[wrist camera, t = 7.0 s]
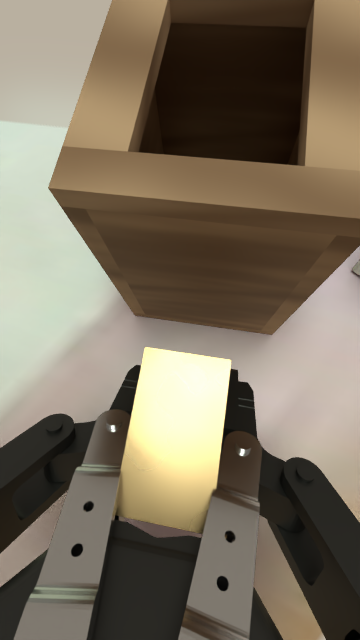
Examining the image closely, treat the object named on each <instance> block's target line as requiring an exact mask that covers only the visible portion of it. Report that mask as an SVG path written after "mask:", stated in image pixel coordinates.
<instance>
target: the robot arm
mask: <svg viewBox="0 0 360 640" xmlns="http://www.w3.org/2000/svg"><path fill="white" fill-rule="evenodd" d="M140 370H141V366H140V365H136V366H134V367H133V368H132V369H131V370H129V371H128V373H127V375H126V377H125V380H124V381H123V383H122V386H121V387H120V389H119V392H118V394H117V396H116V398H115V400H114V402H113V404H112V406H111V408H110V410H109V411H106V412H104V413H102V414H101V415H100V416H99V417H98V419H97V420H96V421H92V422H86V423H75V424H74V422H73V419H72V418H71V417H70V416H68V415H65V414H54V415H50V416H48V417H46V418H44V419H42V420H41V421H39V422H38V423H37V424H35V425H34V426H32V427H31V428H29V429H28V430H26V431H25V432H23V433H22V434H20V435H19V436H18V437H16V438H15V439H13V440H12V441H10V442H9V443H7V444H6V445H4V446H3V447H1V448H0V553H1V552H2V551H3V550H4V549H6V548H7V547H8V546H9V545H10V544H11V543H12V542H13V541H14V540H15V539H16V538H17V537H18V536H19V535H20V534H21V533H22V532H24V531H25V530H26V529H27V528H28V527H29V526H30V525H31V524H32V523H33V522H34V521H35V520H36V519H37V518H38V517H39V516H40V515H41V514H43V513H44V512H45V511H46V510H47V509H48V508H49V507H50V506H51V505H52V504H53V503H54V502H55V501H56V500H57V499H58V498H59V497H61V496H62V495H63V494H64V493H65V492H66V491H67V490H68V489H69V490H68V493H67V496H66V499H65V502H64V505H63V508H62V511H61V514H60V516H59V519H58V522H57V525H56V528H55V531H54V534H53V537H52V540H51V543H50V546H49V549H47V550H46V551H45V552H44V553H42V554H41V555H40V556H39V557H37V558H36V559H35V560H34V561H32V562H31V563H30V564H29V565H27V566H26V567H25V568H24V569H22V570H21V571H20V572H19V573H18V574H16V575H15V576H14V577H13V578H11V579H10V580H9V581H8V582H6V583H5V584H4V585H3V586H1V587H0V640H283V638H282V637H281V635H280V633H279V631H278V629H277V628H276V626H275V624H274V622H273V620H272V619H271V617H270V615H269V613H268V611H267V610H266V608H265V606H264V604H263V603H262V601H261V599H260V597H259V595H258V594H257V592H256V590H255V588H254V587H253V585H254V573H255V560H256V548H257V536H258V524H259V515H261V516H263V517H264V518H266V519H267V520H268V523H269V525H270V527H271V529H272V531H273V533H274V535H275V537H276V539H277V542H278V544H279V546H280V548H281V550H282V552H283V554H284V556H285V558H286V560H287V562H288V564H289V566H290V568H291V570H292V572H293V574H294V576H295V578H296V580H297V582H298V584H299V586H300V588H301V590H302V592H303V594H304V596H305V598H306V600H307V602H308V604H309V606H310V608H311V610H312V612H313V614H314V616H315V618H316V620H317V622H318V624H319V626H320V628H321V630H322V632H323V634H324V636H325V638H326V640H360V523H359V521H358V520H357V519H356V517H355V516H354V515H353V513H352V512H351V511H350V509H349V508H348V507H347V505H346V504H345V502H344V501H343V500H342V498H341V497H340V496H339V494H338V493H337V492H336V490H335V489H334V488H333V486H332V485H331V483H330V482H329V481H328V479H327V478H326V477H325V475H324V474H323V473H322V471H321V470H320V469H319V468H318V467H317V466H316V465H315V464H314V463H312V462H310V461H309V460H306V459H304V458H299V457H295V458H291V459H289V460H287V461H286V462H285V461H283V460H281V459H279V458H277V457H274V456H273V455H271V454H269V453H268V452H267V451H265V450H264V449H263V447H262V446H261V444H260V442H259V441H258V439H257V431H256V419H255V409H254V395H253V390H252V389H251V387H250V385H249V384H248V383H246V382H240V381H238V370H234V369H230V376H229V384H228V393H227V401H226V410H225V418H224V427H223V435H222V444H221V453H220V461H219V470H218V478H217V487H216V489H214V488H213V492H212V496H211V501H210V505H209V509H208V514H207V518H206V522H205V527H204V531H203V535H202V538H198V537H193V536H179V537H167V538H155V537H153V536H151V535H149V534H147V533H146V532H144V531H142V530H140V529H138V528H137V527H135V526H133V525H131V524H129V523H128V522H125V517H121V516H116V515H115V514H116V510H117V508H118V498H119V488H120V478H121V465H122V460H123V455H124V450H125V445H126V440H127V435H128V430H129V425H130V420H131V415H132V410H133V405H134V400H135V395H136V390H137V385H138V380H139V375H140Z"/></svg>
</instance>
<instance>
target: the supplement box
mask: <svg viewBox="0 0 360 640" xmlns="http://www.w3.org/2000/svg"><path fill="white" fill-rule="evenodd" d="M353 271H354V272H355V273H356V274H358V275H360V260H359V261H358V262H357V264H356V265H355V266H354V267H353Z"/></svg>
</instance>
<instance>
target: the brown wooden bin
mask: <svg viewBox="0 0 360 640" xmlns="http://www.w3.org/2000/svg"><path fill="white" fill-rule="evenodd" d="M48 188H49V190H50V191H51V193H52V194H53V196H54V197H55V199H56V200H57V202H58V203H59V205H60V206H61V207H62V209H63V210H64V212H65V213H66V215H67V216H68V218H69V219H70V221H71V222H72V224H73V225H74V227H75V228H76V230H77V231H78V232H79V234H80V235H81V237H82V238H83V240H84V241H85V243H86V244H87V246H88V247H89V249H90V250H91V252H92V253H93V255H94V256H95V257H96V259H97V260H98V262H99V263H100V265H101V266H102V268H103V269H104V271H105V272H106V274H107V275H108V277H109V278H110V280H111V281H112V282H113V284H114V285H115V287H116V288H117V290H118V291H119V293H120V294H121V296H122V297H123V299H124V300H125V302H126V303H127V305H128V306H129V307H130V309H131V310H132V312H133V313H134V315H136V316H143V317H150V318H157V319H164V320H171V321H178V322H185V323H193V324H200V325H207V326H214V327H221V328H228V329H235V330H242V331H249V332H256V333H263V334H271V335H272V334H273V333H274V332H275V331H276V330H277V329H278V328H279V327H280V326H281V325H282V324H283V323H284V322H285V321H286V320H287V319H288V318H289V317H290V316H291V315H292V314H293V313H294V312H295V311H296V310H297V309H298V308H299V307H300V306H301V305H302V304H303V303H304V302H305V301H306V300H307V299H308V297H309V296H310V295H311V294H312V293H313V292H314V291H315V290H316V289H317V288H318V287H319V286H320V285H321V284H322V283H323V282H324V281H325V280H326V279H327V278H328V277H329V276H330V275H331V274H332V273H333V272H334V271H335V270H336V269H337V268H338V267H339V266H340V265H341V264H342V263H343V262H344V261H345V260H346V259H347V258H348V257H349V256H350V255H351V254H352V253H353V252H354V251H355V250H356V249H357V248H358V247H359V246H360V0H112V3H111V6H110V8H109V11H108V14H107V17H106V20H105V23H104V26H103V29H102V32H101V35H100V38H99V41H98V44H97V46H96V49H95V52H94V55H93V58H92V61H91V64H90V67H89V70H88V73H87V76H86V79H85V82H84V85H83V88H82V90H81V94H80V96H79V99H78V102H77V105H76V108H75V111H74V114H73V117H72V120H71V123H70V126H69V128H68V131H67V134H66V137H65V140H64V143H63V146H62V149H61V152H60V155H59V158H58V161H57V164H56V167H55V169H54V172H53V175H52V178H51V181H50V184H49V187H48Z"/></svg>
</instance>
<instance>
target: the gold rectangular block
mask: <svg viewBox="0 0 360 640" xmlns="http://www.w3.org/2000/svg"><path fill="white" fill-rule="evenodd" d="M230 367H231V360H228V359H221V358H215V357H208V356H201V355H195V354H188V353H182V352H175V351H169V350H162V349H155V348H149V347H145V350H144V355H143V360H142V365H141V370H140V375H139V380H138V385H137V390H136V395H135V400H134V405H133V410H132V415H131V420H130V425H129V430H128V435H127V440H126V445H125V450H124V455H123V460H122V465H121V478H120V488H119V498H118V508H117V510H116V514H115V515H116V516H121V517H125V518H130V519H135V520H139V521H144V522H149V523H154V524H158V525H163V526H168V527H172V528H177V529H182V530H186V531H191V532H196V533H200V534H203V531H204V527H205V522H206V518H207V514H208V509H209V505H210V501H211V496H212V492H213V488H214V489H216V487H217V478H218V470H219V461H220V453H221V444H222V435H223V427H224V418H225V410H226V401H227V393H228V384H229V376H230Z"/></svg>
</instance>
